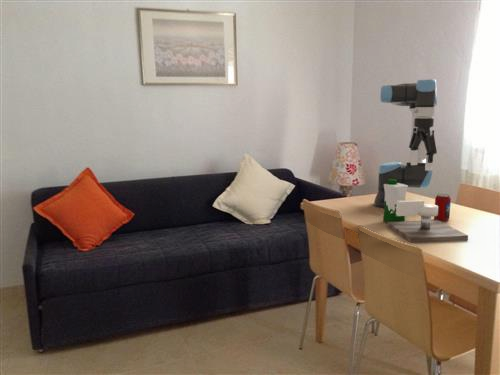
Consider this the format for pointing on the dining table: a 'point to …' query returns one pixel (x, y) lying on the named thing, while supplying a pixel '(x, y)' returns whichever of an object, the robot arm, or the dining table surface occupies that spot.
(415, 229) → the base plate
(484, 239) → the dining table surface
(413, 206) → the spoon
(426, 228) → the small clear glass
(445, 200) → the beverage can
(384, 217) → the milk carton
